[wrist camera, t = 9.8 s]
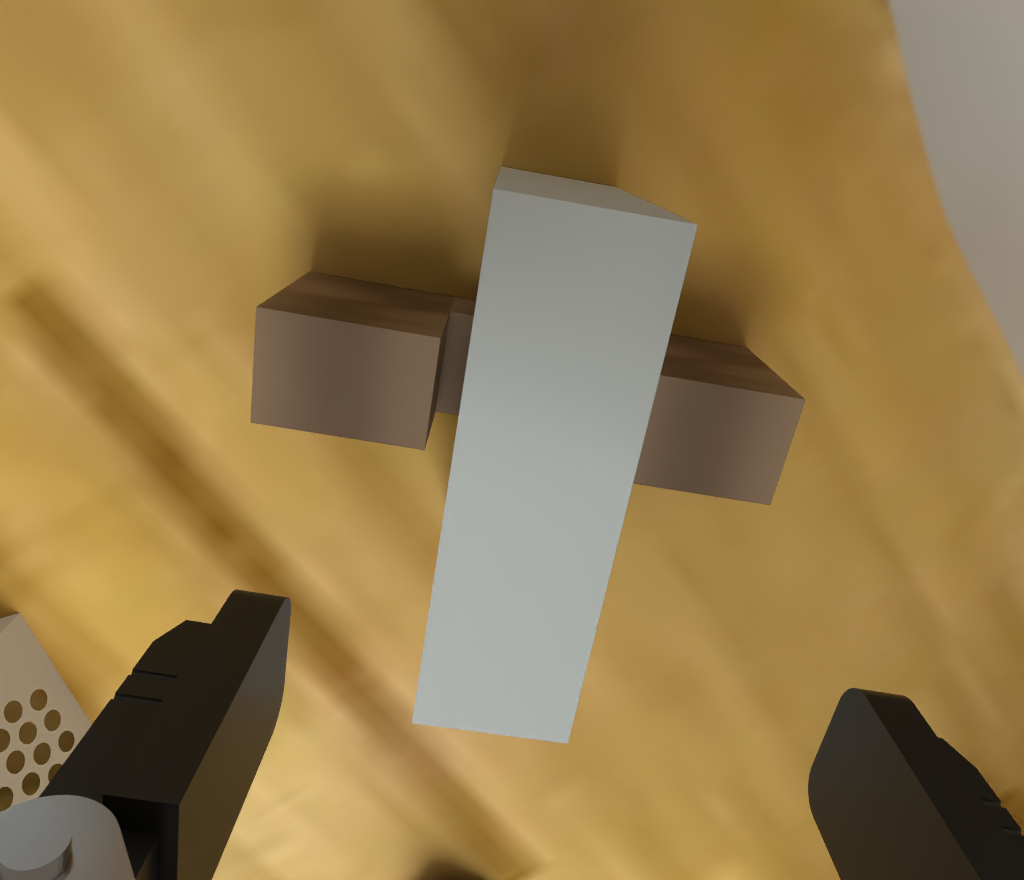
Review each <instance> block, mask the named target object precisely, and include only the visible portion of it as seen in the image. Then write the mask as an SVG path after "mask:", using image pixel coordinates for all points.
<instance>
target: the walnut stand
mask: <svg viewBox="0 0 1024 880" xmlns="http://www.w3.org/2000/svg"><path fill="white" fill-rule="evenodd" d="M475 305H476V301H475V300H469V299H464V298H458V297H452V296H446V295H440V294H435V293H429V292H423V291H417V290H412V289H406V288H400V287H394V286H388V285H383V284H377V283H371V282H365V281H359V280H354V279H348V278H342V277H336V276H330V275H325V274H319V273H313V272H308V273H307V274H305V275H304V276H302V277H301V278H299V279H298V280H296V281H295V282H293V283H292V284H290V285H289V286H287V287H286V288H284V289H283V290H281V291H280V292H278V293H277V294H275V295H274V296H272V297H271V298H269V299H268V300H266V301H265V302H263V303H262V304H260V305H259V306H257V307H256V325H255V345H254V365H253V385H252V404H251V423H257V424H263V425H270V426H276V427H282V428H288V429H295V430H301V431H307V432H314V433H320V434H326V435H332V436H339V437H345V438H351V439H358V440H364V441H370V442H376V443H383V444H389V445H395V446H401V447H408V448H414V449H420V450H425V447H426V443H427V440H428V436H429V432H430V429H431V425H432V421H433V418H434V414H435V411H436V412H443V413H449V414H455V415H459V411H460V404H461V397H462V391H463V384H464V378H465V371H466V364H467V358H468V351H469V345H470V338H471V332H472V325H473V318H474V312H475ZM804 402H805V399H804V398H803V397H802V396H801V395H799V394H798V393H797V392H796V391H795V390H794V389H793V388H792V387H790V386H789V385H788V384H787V383H786V382H785V381H784V380H783V379H781V378H780V377H779V376H778V375H777V374H776V373H775V372H774V371H772V370H771V369H770V368H769V367H768V366H767V365H766V364H765V363H763V362H762V361H761V360H760V359H759V358H758V357H757V356H756V355H754V354H753V353H752V352H751V351H750V350H749V349H748V348H747V347H741V346H736V345H730V344H724V343H718V342H713V341H707V340H701V339H695V338H689V337H684V336H678V335H672V334H670V337H669V341H668V345H667V349H666V353H665V357H664V361H663V365H662V369H661V373H660V377H659V381H658V385H657V389H656V393H655V397H654V401H653V405H652V409H651V413H650V417H649V421H648V425H647V429H646V433H645V437H644V441H643V445H642V449H641V453H640V457H639V461H638V465H637V469H636V473H635V477H634V481H633V483H634V484H640V485H647V486H653V487H659V488H665V489H672V490H678V491H684V492H690V493H697V494H703V495H709V496H716V497H722V498H728V499H734V500H741V501H747V502H753V503H760V504H766V505H770V504H771V501H772V498H773V495H774V492H775V489H776V486H777V483H778V480H779V477H780V474H781V471H782V468H783V465H784V462H785V459H786V456H787V453H788V450H789V447H790V444H791V441H792V438H793V435H794V432H795V429H796V426H797V423H798V420H799V417H800V414H801V411H802V408H803V405H804Z"/></svg>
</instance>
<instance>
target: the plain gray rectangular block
mask: <svg viewBox="0 0 1024 880" xmlns="http://www.w3.org/2000/svg"><path fill="white" fill-rule="evenodd" d="M697 226H698V225H697V224H695V223H693V222H691V221H689V220H686V219H684V218H682V217H680V216H678V215H676V214H674V213H671V212H669V211H667V210H665V209H663V208H661V207H659V206H656V205H654V204H652V203H650V202H648V201H646V200H643V199H641V198H639V197H637V196H635V195H633V194H631V193H628V192H626V191H624V190H622V189H620V188H618V187H613V186H608V185H602V184H596V183H591V182H585V181H580V180H574V179H568V178H563V177H557V176H552V175H546V174H541V173H535V172H529V171H524V170H518V169H513V168H507V167H501V168H500V171H499V173H498V176H497V179H496V182H495V185H494V188H493V193H492V200H491V207H490V213H489V220H488V226H487V233H486V239H485V246H484V253H483V259H482V266H481V272H480V279H479V285H478V292H477V299H476V305H475V312H474V318H473V325H472V332H471V338H470V345H469V351H468V358H467V364H466V371H465V378H464V384H463V391H462V397H461V404H460V411H459V417H458V424H457V430H456V437H455V443H454V450H453V457H452V463H451V470H450V476H449V483H448V490H447V496H446V503H445V509H444V516H443V522H442V529H441V536H440V542H439V549H438V555H437V562H436V569H435V575H434V582H433V588H432V595H431V601H430V608H429V615H428V621H427V628H426V634H425V641H424V647H423V654H422V661H421V667H420V674H419V680H418V687H417V694H416V700H415V707H414V713H413V720H412V723H415V724H422V725H430V726H437V727H445V728H453V729H460V730H468V731H475V732H483V733H491V734H498V735H506V736H513V737H521V738H528V739H536V740H544V741H551V742H559V743H566V744H568V741H569V737H570V733H571V729H572V725H573V721H574V717H575V713H576V709H577V705H578V701H579V697H580V693H581V689H582V685H583V681H584V677H585V673H586V669H587V665H588V661H589V657H590V653H591V649H592V645H593V641H594V637H595V633H596V629H597V625H598V621H599V617H600V613H601V609H602V605H603V601H604V597H605V593H606V589H607V585H608V581H609V577H610V573H611V569H612V565H613V561H614V557H615V553H616V549H617V545H618V541H619V537H620V533H621V529H622V525H623V521H624V517H625V513H626V509H627V505H628V501H629V497H630V493H631V489H632V485H633V481H634V477H635V473H636V469H637V465H638V461H639V457H640V453H641V449H642V445H643V441H644V437H645V433H646V429H647V425H648V421H649V417H650V413H651V409H652V405H653V401H654V397H655V393H656V389H657V385H658V381H659V377H660V373H661V369H662V365H663V361H664V357H665V353H666V349H667V345H668V341H669V337H670V333H671V329H672V325H673V321H674V317H675V313H676V309H677V305H678V301H679V298H680V294H681V290H682V286H683V282H684V278H685V274H686V270H687V266H688V262H689V258H690V254H691V250H692V246H693V242H694V238H695V234H696V230H697Z"/></svg>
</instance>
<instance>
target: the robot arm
mask: <svg viewBox="0 0 1024 880" xmlns="http://www.w3.org/2000/svg"><path fill="white" fill-rule="evenodd" d="M290 613H291V602H290V599H289V598H287V597H281V596H274V595H268V594H262V593H255V592H249V591H243V590H234V591H233V592H232V593H231V594H230V596H229V597H228V599H227V600H226V602H225V604H224V605H223V607H222V608H221V610H220V611H219V613H218V614H217V616H216V618H215V619H214V621H213V622H212V624H209V623H202V622H196V621H189V620H186V621H184V622H183V623H181V624H179V625H178V626H176V627H175V628H173V629H172V630H170V631H169V632H167V633H165V634H164V635H162V636H161V637H159V638H158V639H156V640H155V641H153V642H152V644H151V645H150V646H149V648H148V649H147V651H146V652H145V653H144V655H143V656H142V657H141V659H140V660H139V661H138V663H137V664H136V666H135V667H134V668H133V671H132V674H131V675H128V676H127V678H126V679H125V681H124V682H123V683H122V685H121V686H120V687H119V689H118V690H117V691H116V693H115V697H114V699H111V700H110V701H109V702H108V704H107V705H106V706H105V708H104V709H103V710H102V712H101V713H100V715H99V716H98V717H97V719H96V720H95V721H94V723H93V724H92V725H91V727H90V728H89V730H88V731H87V732H86V734H85V735H84V736H83V738H82V739H81V740H80V742H79V743H78V745H77V746H76V747H75V749H74V750H73V751H72V753H71V754H70V755H69V757H68V758H67V759H66V761H65V762H64V764H63V765H62V766H61V768H60V769H59V770H58V772H57V773H56V774H55V776H54V777H53V779H52V780H51V781H50V783H49V784H48V785H47V787H46V788H45V789H44V791H43V792H42V793H41V794H40V796H39V797H38V798H36V799H32V800H28V801H25V802H22V803H20V804H17V805H14V806H12V807H10V808H8V809H6V810H4V811H2V812H0V880H212V878H213V875H214V873H215V870H216V868H217V866H218V863H219V861H220V858H221V856H222V854H223V851H224V849H225V846H226V844H227V842H228V839H229V837H230V835H231V832H232V830H233V827H234V825H235V823H236V820H237V818H238V815H239V813H240V811H241V808H242V806H243V803H244V801H245V799H246V796H247V794H248V791H249V789H250V787H251V784H252V782H253V779H254V777H255V775H256V772H257V770H258V767H259V765H260V763H261V760H262V758H263V755H264V753H265V751H266V748H267V746H268V743H269V741H270V739H271V736H272V734H273V731H274V728H275V725H276V722H277V719H278V715H279V711H280V707H281V702H282V697H283V691H284V682H285V671H286V659H287V648H288V636H289V625H290ZM808 795H809V803H810V808H811V812H812V814H813V817H814V820H815V822H816V824H817V826H818V829H819V831H820V833H821V836H822V838H823V840H824V842H825V845H826V847H827V849H828V852H829V854H830V856H831V858H832V861H833V863H834V865H835V868H836V870H837V872H838V874H839V877H840V879H841V880H1024V836H1022V835H1021V828H1020V827H1019V826H1018V824H1017V823H1016V822H1015V820H1014V819H1013V817H1012V816H1011V815H1010V813H1009V812H1008V811H1007V809H1006V808H1001V805H1000V803H1001V801H1000V800H999V798H998V797H997V796H996V794H995V793H994V791H993V790H992V789H991V787H990V786H989V785H988V783H987V782H986V781H985V779H984V778H983V776H982V775H981V774H980V772H979V771H978V770H977V768H976V767H974V766H973V765H972V764H971V763H970V762H969V761H968V760H966V759H965V758H964V757H963V756H962V755H961V754H960V753H958V752H957V751H956V750H955V749H954V748H953V747H952V746H950V745H949V744H948V743H947V742H946V741H945V740H944V739H942V738H938V737H937V736H936V734H935V733H934V732H933V730H932V729H931V727H930V726H929V725H928V723H927V722H926V720H925V719H924V717H923V716H922V715H921V713H920V712H919V710H918V709H917V708H916V706H915V705H914V703H913V702H912V701H911V700H910V699H909V698H907V697H905V696H901V695H895V694H889V693H882V692H876V691H870V690H863V689H857V688H850V689H848V690H847V691H846V692H844V694H843V695H842V696H841V698H840V700H839V703H838V705H837V707H836V710H835V712H834V715H833V717H832V719H831V722H830V724H829V726H828V729H827V731H826V734H825V736H824V738H823V741H822V743H821V746H820V748H819V750H818V753H817V755H816V758H815V760H814V762H813V765H812V767H811V771H810V775H809V783H808Z"/></svg>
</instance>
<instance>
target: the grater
mask: <svg viewBox="0 0 1024 880" xmlns="http://www.w3.org/2000/svg"><path fill="white" fill-rule="evenodd" d="M37 689H42V690H44V691H45V692H46V694H47V697H48V698H47V704H46V706H45V707H44V708H43V709H42V710H40V711H37V710H34V709H33V708H32V707H31V704H30V697H31V695H32V693H33V692H34V691H35V690H37ZM11 701H18V702H19V703H20V704H21V706H22V708H23V711H22V716H21V718H20V719H19V720H18V721H17V722H15V723H9V722H8V721H6V720H5V717H4V708H5V707H6V705H7V703H9V702H11ZM50 710H57V711H58V712H59V713H60V716H61V723H60V725H59V727H58V729H56V730H55V731H49V730H47V729H46V728H45V725H44V718H45V716H46V714H47V712H49V711H50ZM26 722H32V723H33V724H35V726H36V729H37V735H36V738H35V739H34V741H33V742H32V743H30V744H23V743H22V742H21V741H20V738H19V730H20V728H21V726H22V725H23V724H24V723H26ZM91 725H92V724H91V722H90V721H89V719H88V718H87V716H86V715H85V713H84V711H83V710H82V708H81V707H80V705H79V704H78V702H77V701H76V699H75V697H74V696H73V694H72V693H71V691H70V690H69V688H68V687H67V685H66V684H65V682H64V680H63V679H62V677H61V676H60V674H59V673H58V671H57V670H56V668H55V667H54V665H53V663H52V662H51V660H50V659H49V657H48V656H47V654H46V653H45V651H44V649H43V648H42V646H41V645H40V643H39V642H38V640H37V639H36V637H35V636H34V634H33V632H32V631H31V629H30V628H29V626H28V625H27V623H26V622H25V620H24V618H23V617H22V615H21V614H20V613H17V614H14V615H10V616H7V617H3V618H0V729H5V730H6V731H8V732H9V735H10V744H9V746H8V747H7V749H6V750H4V751H3V752H0V788H2V787H9V788H10V789H12V792H13V802H12V804H11V806H10V807H12V806H14V805H17V804H20V803H22V802H25V801H28V800H32V799H36V798H38V797H39V796H40V794H41V793H42V792H43V791H44V789H45V788H46V787H47V785H48V784H49V780H48V772H49V770H50V768H51V767H52V766H53V765H54V764H61V765H63V764H64V762H65V761H66V759H67V758H68V757H69V755H70V754H71V753H72V751H73V750H74V749H75V747H76V746H77V745H78V743H79V742H80V740H81V739H82V738H83V736H84V735H85V734H86V732H87V731H88V730H89V728H90V727H91ZM64 731H71V732H72V733H73V735H74V738H75V740H74V745H73V747H72V749H71V750H70V751H68V752H63V751H62V750H60V748H59V745H58V741H59V737H60V735H61V733H63V732H64ZM40 743H47V744H48V745H49V746H50V749H51V755H50V758H49V760H48V762H46V763H45V764H44V765H38V764H37V763H36V762H35V761H34V758H33V754H34V750H35V748H36V746H37V745H38V744H40ZM19 750H20V751H21V752H22V753H23V754H24V757H25V765H24V767H23V769H22V770H21V771H20V772H18V773H17V774H11V773H10V772H9V771H8V770H7V767H6V761H7V758H8V756H9V754H10V753H12V752H13V751H19ZM30 772H35V773H36V774H38V775H39V778H40V787H39V788H38V790H37V792H36V793H35V794H33V795H29V796H27V795H26V794H25V793H23V790H22V781H23V779H24V777H25V776H26V775H27V774H28V773H30ZM10 807H9V808H10ZM0 812H2V811H0Z"/></svg>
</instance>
